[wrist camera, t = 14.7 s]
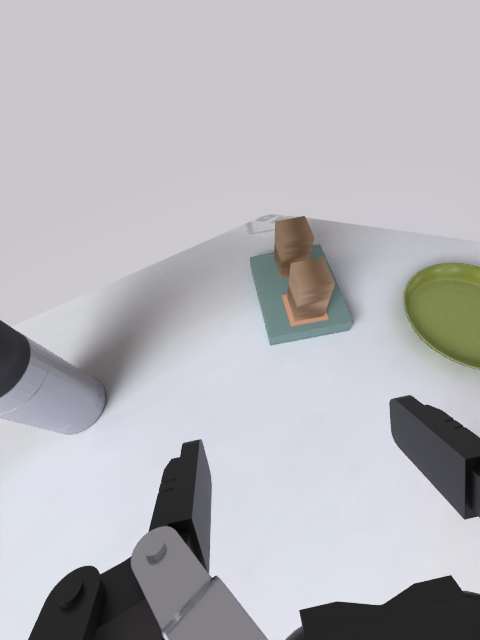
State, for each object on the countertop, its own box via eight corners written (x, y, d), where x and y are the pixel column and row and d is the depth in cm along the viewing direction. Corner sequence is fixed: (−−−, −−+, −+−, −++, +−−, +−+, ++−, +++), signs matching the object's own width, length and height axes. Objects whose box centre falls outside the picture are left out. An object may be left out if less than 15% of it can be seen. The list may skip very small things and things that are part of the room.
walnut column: (280, 278, 52) (282, 242, 44) (274, 258, 55) (275, 221, 47) (306, 273, 52) (313, 236, 45) (299, 254, 55) (304, 216, 47)
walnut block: (294, 321, 47) (300, 289, 39) (286, 297, 50) (290, 263, 42) (323, 316, 47) (335, 282, 40) (314, 292, 50) (323, 256, 42)
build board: (270, 345, 49) (270, 337, 46) (250, 267, 58) (250, 256, 55) (349, 330, 49) (354, 321, 46) (317, 254, 58) (319, 243, 55)
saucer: (561, 373, 43) (582, 365, 40) (422, 383, 44) (433, 376, 41) (492, 268, 53) (504, 256, 51) (381, 278, 54) (387, 267, 51)
